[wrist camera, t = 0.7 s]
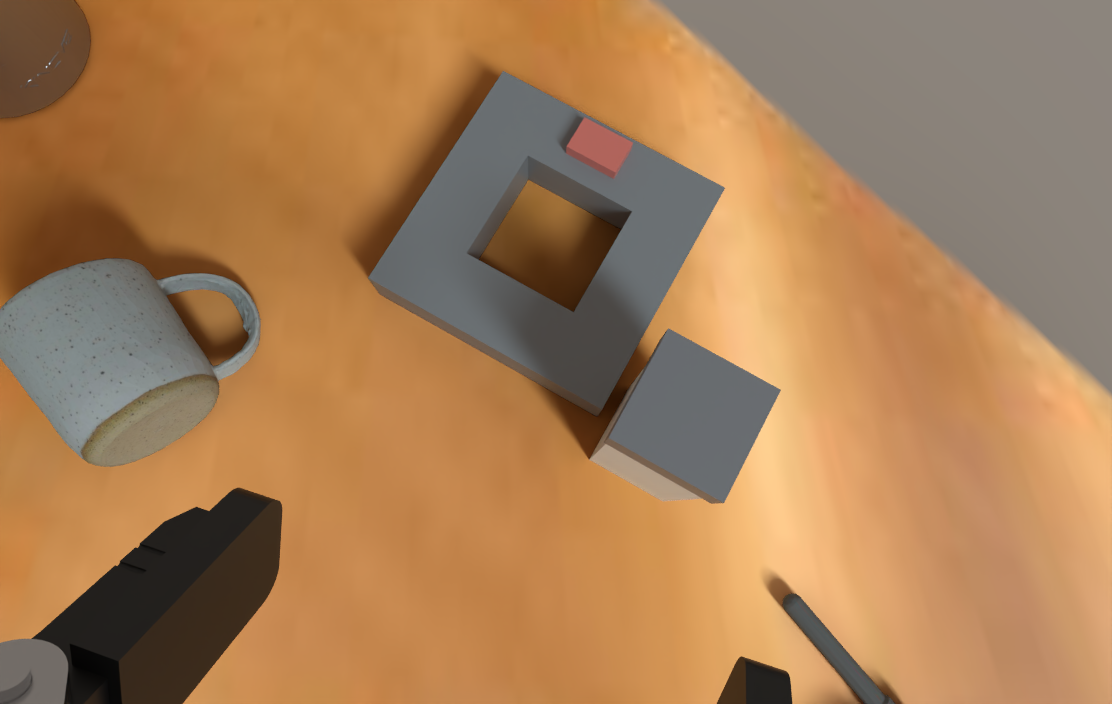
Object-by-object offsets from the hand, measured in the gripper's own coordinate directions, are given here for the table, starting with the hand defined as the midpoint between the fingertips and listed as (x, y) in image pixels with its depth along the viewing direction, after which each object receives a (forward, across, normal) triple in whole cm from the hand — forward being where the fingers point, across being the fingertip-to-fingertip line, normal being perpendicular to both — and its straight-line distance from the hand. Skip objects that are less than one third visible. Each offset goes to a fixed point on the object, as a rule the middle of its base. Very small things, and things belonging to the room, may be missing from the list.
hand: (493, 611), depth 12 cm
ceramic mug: (+22, +23, +14) cm, 35 cm away
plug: (+26, -3, +12) cm, 29 cm away
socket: (+31, +5, +4) cm, 32 cm away
